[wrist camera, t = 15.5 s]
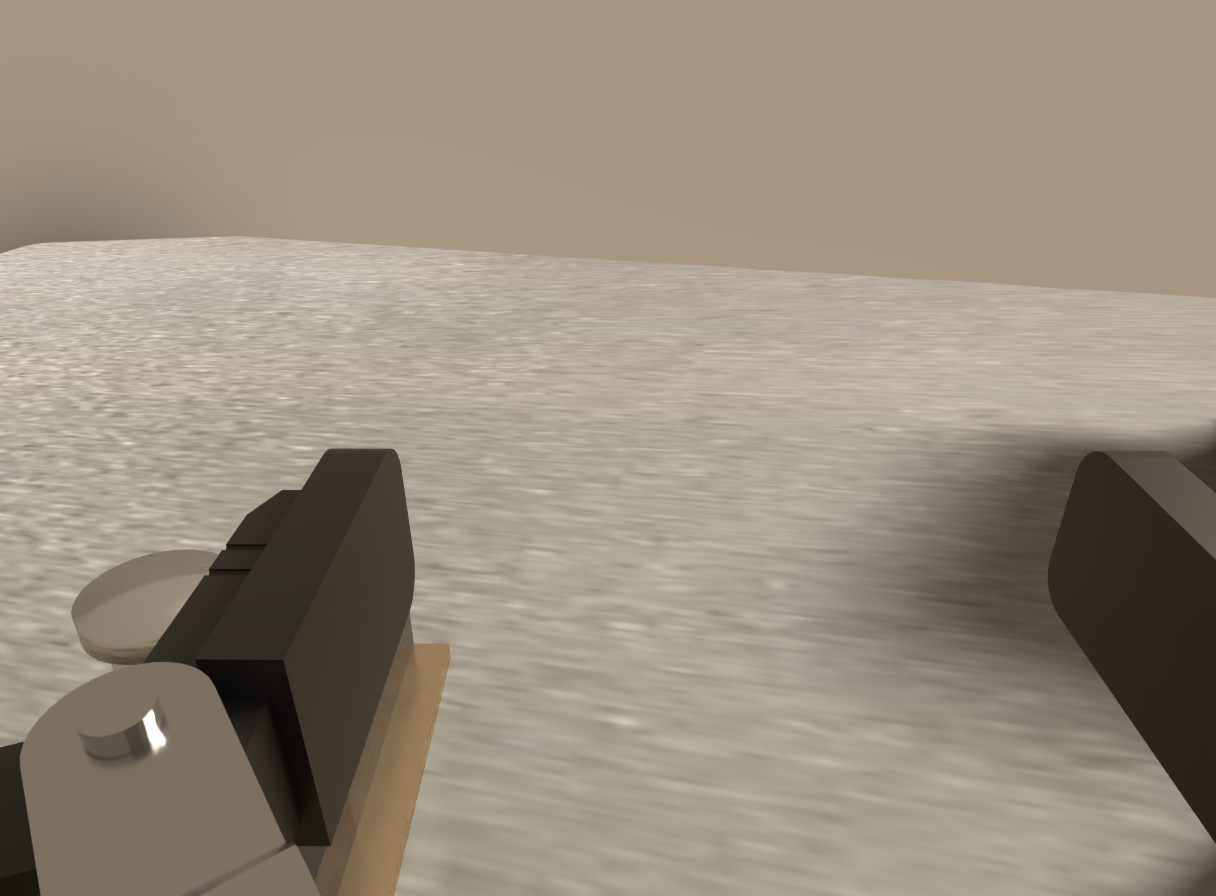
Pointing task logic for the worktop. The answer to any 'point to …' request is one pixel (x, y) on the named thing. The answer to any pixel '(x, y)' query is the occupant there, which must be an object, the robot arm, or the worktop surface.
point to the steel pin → (136, 604)
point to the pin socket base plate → (385, 778)
